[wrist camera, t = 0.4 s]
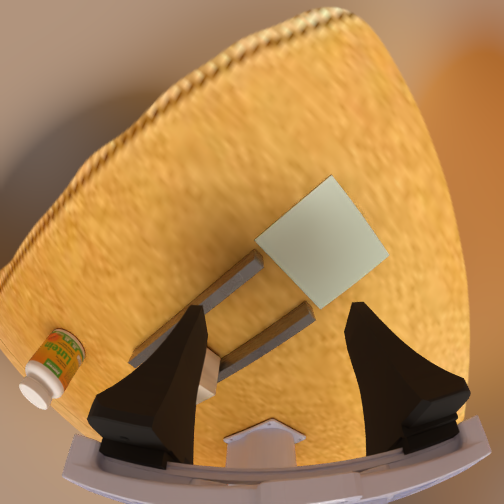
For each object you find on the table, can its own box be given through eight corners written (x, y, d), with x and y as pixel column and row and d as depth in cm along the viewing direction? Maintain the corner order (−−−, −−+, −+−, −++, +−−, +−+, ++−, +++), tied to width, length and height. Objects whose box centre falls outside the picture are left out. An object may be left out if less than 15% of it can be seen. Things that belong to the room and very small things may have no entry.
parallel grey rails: (186, 388, 30) (183, 401, 28) (133, 350, 28) (128, 362, 26) (312, 307, 25) (315, 320, 23) (254, 248, 23) (254, 258, 21)
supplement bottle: (87, 341, 28) (50, 399, 19) (84, 366, 30) (54, 420, 21) (52, 320, 27) (10, 371, 18) (52, 347, 29) (18, 395, 20)
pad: (320, 308, 25) (320, 309, 25) (254, 239, 23) (254, 240, 23) (388, 254, 23) (389, 255, 23) (331, 174, 21) (331, 175, 20)
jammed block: (189, 377, 29) (181, 411, 24) (154, 351, 27) (140, 385, 23) (220, 358, 27) (215, 394, 23) (183, 328, 26) (171, 364, 21)
